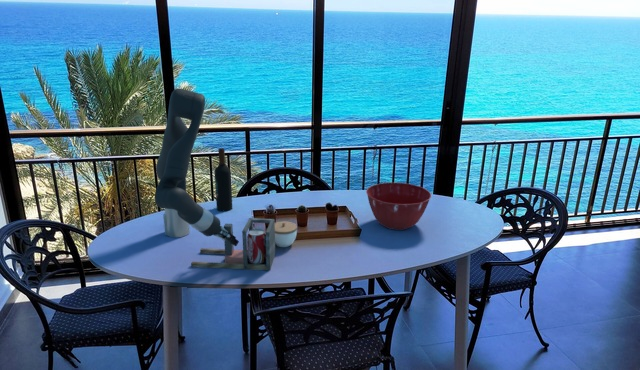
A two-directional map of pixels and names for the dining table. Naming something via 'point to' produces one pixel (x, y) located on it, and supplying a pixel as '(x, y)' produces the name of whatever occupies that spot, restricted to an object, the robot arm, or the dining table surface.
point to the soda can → (256, 246)
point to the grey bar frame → (245, 249)
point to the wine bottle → (223, 184)
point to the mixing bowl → (398, 204)
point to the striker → (232, 249)
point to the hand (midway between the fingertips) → (233, 241)
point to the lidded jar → (285, 233)
